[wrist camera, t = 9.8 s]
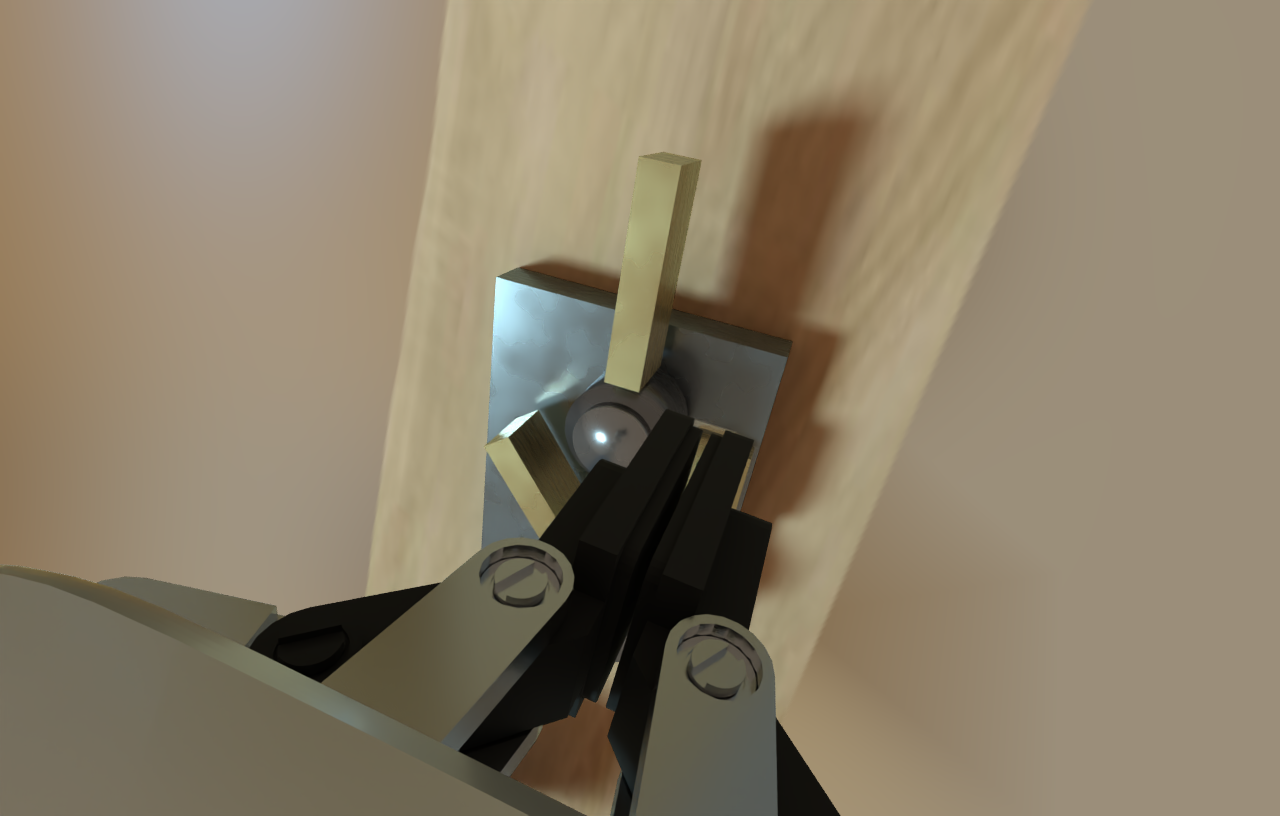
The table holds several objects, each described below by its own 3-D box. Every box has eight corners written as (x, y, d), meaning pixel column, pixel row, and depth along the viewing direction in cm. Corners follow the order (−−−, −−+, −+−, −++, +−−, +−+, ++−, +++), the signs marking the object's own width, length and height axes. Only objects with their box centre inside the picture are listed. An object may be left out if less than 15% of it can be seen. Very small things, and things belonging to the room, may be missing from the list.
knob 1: (688, 611, 31) (669, 666, 28) (617, 623, 33) (591, 676, 30) (569, 394, 28) (533, 429, 25) (498, 422, 30) (456, 458, 27)
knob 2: (676, 464, 27) (653, 507, 24) (587, 435, 28) (553, 474, 25) (746, 168, 21) (726, 176, 18) (629, 143, 22) (592, 147, 19)
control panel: (695, 658, 35) (674, 722, 32) (495, 580, 38) (455, 631, 34) (792, 341, 26) (780, 380, 22) (518, 267, 28) (465, 290, 25)
